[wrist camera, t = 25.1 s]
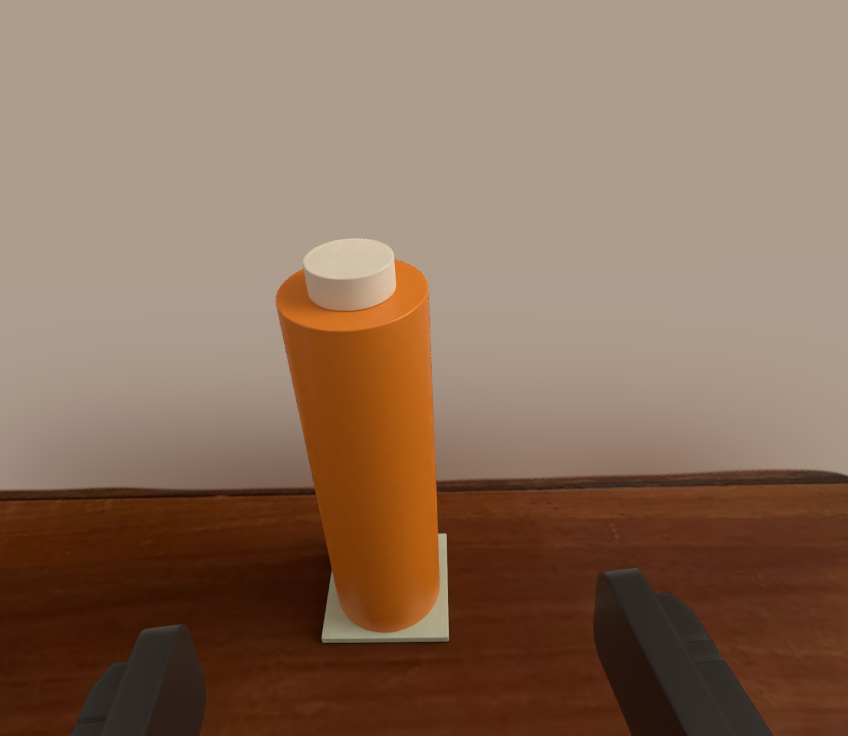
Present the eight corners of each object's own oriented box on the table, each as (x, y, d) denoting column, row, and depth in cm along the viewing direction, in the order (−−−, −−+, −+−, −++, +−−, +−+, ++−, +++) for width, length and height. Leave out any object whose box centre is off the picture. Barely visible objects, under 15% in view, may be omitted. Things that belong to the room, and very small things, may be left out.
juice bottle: (456, 562, 32) (452, 237, 21) (411, 650, 28) (378, 310, 17) (369, 529, 34) (325, 216, 23) (317, 608, 30) (234, 278, 19)
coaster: (446, 537, 34) (446, 533, 33) (449, 642, 29) (448, 637, 29) (337, 539, 34) (337, 535, 34) (322, 643, 29) (321, 638, 29)
